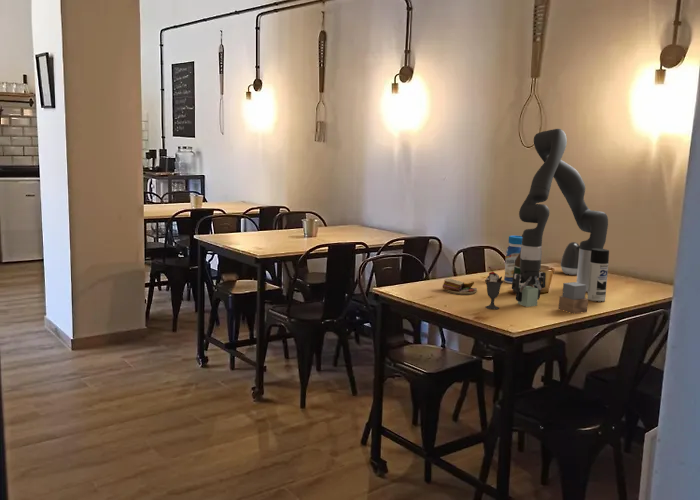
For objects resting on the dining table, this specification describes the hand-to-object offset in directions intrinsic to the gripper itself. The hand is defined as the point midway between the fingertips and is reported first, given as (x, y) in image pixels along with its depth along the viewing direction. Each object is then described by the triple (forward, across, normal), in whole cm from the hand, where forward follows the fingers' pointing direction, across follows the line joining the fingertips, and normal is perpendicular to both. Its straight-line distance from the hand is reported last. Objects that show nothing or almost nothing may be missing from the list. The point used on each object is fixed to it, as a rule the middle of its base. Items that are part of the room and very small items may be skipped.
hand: (527, 300), depth 253 cm
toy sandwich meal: (+2, +11, -27) cm, 29 cm away
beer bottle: (+2, -12, -16) cm, 20 cm away
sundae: (+2, +16, -1) cm, 16 cm away
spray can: (+2, -32, +4) cm, 32 cm away
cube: (-3, -10, +13) cm, 17 cm away
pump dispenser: (+2, -63, -40) cm, 74 cm away
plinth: (+2, -10, +13) cm, 16 cm away
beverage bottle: (+2, -23, -34) cm, 42 cm away
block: (+2, 0, 0) cm, 2 cm away
